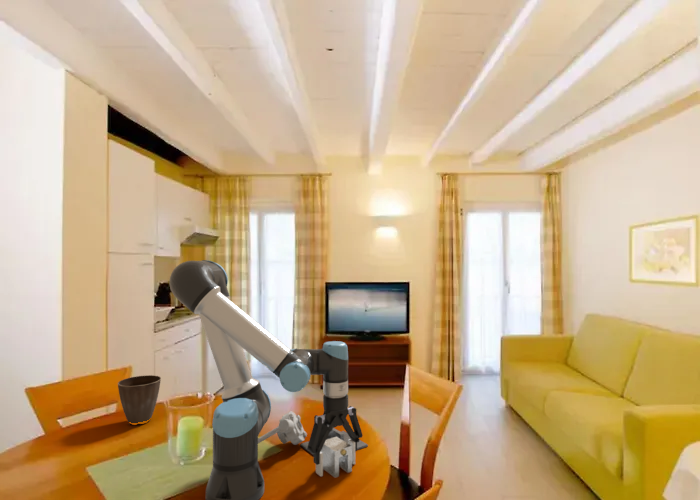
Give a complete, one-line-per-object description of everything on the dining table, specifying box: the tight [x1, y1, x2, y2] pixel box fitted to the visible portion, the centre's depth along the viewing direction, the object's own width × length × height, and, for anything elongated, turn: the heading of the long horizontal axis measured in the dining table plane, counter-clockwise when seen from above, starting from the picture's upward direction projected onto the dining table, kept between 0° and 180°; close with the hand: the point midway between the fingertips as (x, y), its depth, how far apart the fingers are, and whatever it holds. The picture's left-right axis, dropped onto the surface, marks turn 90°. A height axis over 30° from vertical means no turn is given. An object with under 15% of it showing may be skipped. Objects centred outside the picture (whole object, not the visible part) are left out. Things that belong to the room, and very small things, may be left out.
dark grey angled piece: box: [299, 420, 369, 457], centre depth 139 cm, size 18×14×8 cm
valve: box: [258, 410, 308, 446], centre depth 138 cm, size 10×18×15 cm
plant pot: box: [117, 374, 162, 423], centre depth 160 cm, size 15×15×16 cm
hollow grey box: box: [321, 437, 353, 478], centre depth 124 cm, size 6×8×8 cm
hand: (336, 468), depth 124 cm, fingers open, 11 cm apart
